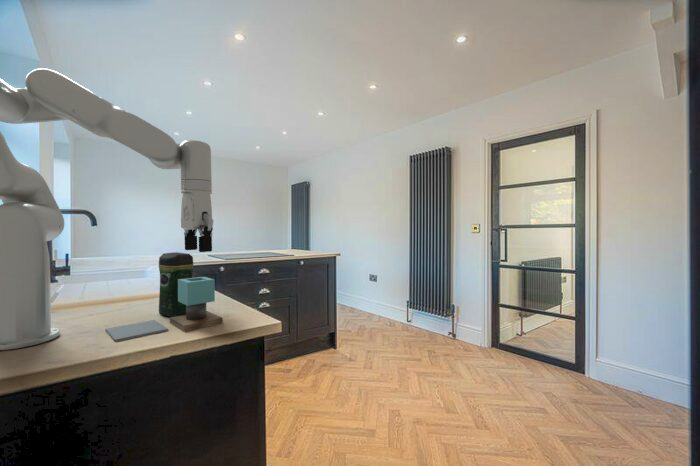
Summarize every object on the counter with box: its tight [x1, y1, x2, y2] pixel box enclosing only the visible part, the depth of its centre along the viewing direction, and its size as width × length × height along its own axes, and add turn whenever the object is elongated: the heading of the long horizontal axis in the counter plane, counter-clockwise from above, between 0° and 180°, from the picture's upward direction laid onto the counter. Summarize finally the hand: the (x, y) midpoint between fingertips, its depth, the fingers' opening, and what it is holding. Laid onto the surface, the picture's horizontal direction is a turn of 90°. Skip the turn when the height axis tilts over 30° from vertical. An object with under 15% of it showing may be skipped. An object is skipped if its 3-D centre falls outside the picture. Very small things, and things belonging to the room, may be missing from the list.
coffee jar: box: [158, 251, 195, 318], centre depth 96 cm, size 10×8×19 cm
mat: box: [104, 319, 169, 343], centre depth 81 cm, size 11×11×1 cm
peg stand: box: [169, 303, 223, 332], centre depth 87 cm, size 10×10×12 cm
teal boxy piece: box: [178, 276, 216, 306], centre depth 87 cm, size 7×7×6 cm
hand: (198, 250), depth 87 cm, fingers open, 9 cm apart
